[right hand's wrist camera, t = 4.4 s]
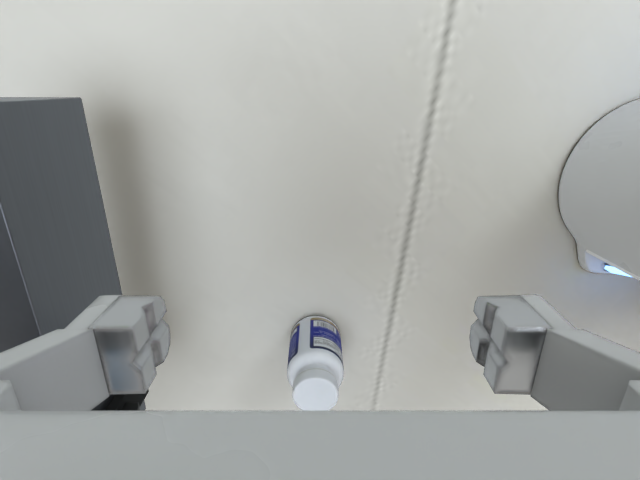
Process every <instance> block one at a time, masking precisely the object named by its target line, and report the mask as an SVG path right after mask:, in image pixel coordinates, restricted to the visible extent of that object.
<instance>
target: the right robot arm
mask: <svg viewBox="0 0 640 480" xmlns="http://www.w3.org/2000/svg"><path fill="white" fill-rule="evenodd" d="M559 208H560V212H561V216H562V219H563V221H564V223H565V225H566V227H567V228H568V230H569V231H570V233H571V234H572V236H573V237H574V239H575V241H576V243H577V253H578V260H579V263H580V265H581V267H582V268H584V269H585V270H587V271H589V272H592V273H600V274H616V275H624V276H629V277H633V278H635V279H637V280H639V281H640V99H637V100H634V101H631V102H629V103H627V104H624V105H622V106H620V107H618V108H617V109H615V110H613V111H612V112H610V113H608V114H607V115H606V116H604V117H603V118H602V119H600V120H599V121H598V122H597V123H596V124H594V125H593V126H592V127H591V128H590V129H589V130H588V131H587V132H586V133H585V135H584V136H583V137H582V138H581V139H580V141H579V142H578V143H577V145H576V146H575V148H574V149H573V151H572V152H571V154H570V156H569V158H568V160H567V162H566V164H565V167H564V170H563V173H562V176H561V180H560V185H559ZM605 262H606V263H605ZM165 313H166V306H165V301H164V299H163V298H162V297H161V296H138V295H102V296H99V297H98V298H96V299H95V300H94V301H93V302H92V303H91V304H90V305H89V306H88V307H87V308H86V309H85V310H84V311H83V312H82V313H81V314H79V315H78V316H77V317H76V318H75V319H74V320H73V321H72V322H71V323H70V324H69V325H68V326H67V327H66V328H65V329H57V330H54V331H52V332H49V333H47V334H45V335H42V336H40V337H37V338H35V339H32V340H30V341H28V342H25V343H23V344H20V345H18V346H16V347H13V348H11V349H8V350H6V351H3V352H1V353H0V480H640V353H639V352H636V351H634V350H632V349H629V348H627V347H624V346H622V345H620V344H617V343H615V342H612V341H610V340H607V339H605V338H603V337H600V336H598V335H595V334H593V333H591V332H588V331H586V330H583V329H575V328H574V327H573V326H572V325H571V324H570V323H569V322H568V321H567V320H566V319H565V318H564V317H563V316H562V315H561V314H560V313H558V312H557V311H556V310H555V309H554V308H553V307H552V306H551V305H550V304H549V303H548V302H547V301H546V300H545V299H544V298H543V297H542V296H539V295H508V296H480V297H477V299H476V302H475V306H474V313H475V314H476V316H477V317H478V319H477V320H476V321H475V322H474V323H473V324H472V325H471V330H470V347H471V351H472V354H473V356H474V358H475V360H476V362H477V363H479V364H480V365H482V366H484V367H485V368H484V376H485V378H486V380H487V381H488V383H489V385H490V386H491V388H492V390H493V392H494V393H495V394H528V395H531V397H532V398H534V399H535V400H536V401H538V402H539V403H540V404H542V405H543V406H544V407H546V408H547V409H548V410H550V411H91V410H92V409H93V408H95V407H96V406H97V405H99V404H100V403H101V402H103V401H104V400H105V399H106V398H108V397H109V395H112V394H146V392H147V390H148V388H149V387H150V385H151V383H152V381H153V380H154V378H155V376H156V368H155V367H156V366H158V365H160V364H161V363H163V362H164V360H165V358H166V356H167V354H168V350H169V346H170V329H169V325H168V324H167V323H166V322H165V321H164V320H163V319H162V317H163V316H164V314H165Z"/></svg>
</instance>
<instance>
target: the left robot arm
mask: <svg viewBox="0 0 640 480" xmlns="http://www.w3.org/2000/svg"><path fill="white" fill-rule="evenodd" d="M148 392H149V391H148V390H147V392H146V394H115V395H114V397H113V398H112V400H111V401H110V403H109V404H108V406H107V407H106V409H105V410H104V411H140V406H141V404H142V402H143V401H144V399H145V397H146V395H147V393H148Z"/></svg>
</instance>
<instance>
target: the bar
mask: <svg viewBox="0 0 640 480" xmlns="http://www.w3.org/2000/svg"><path fill="white" fill-rule="evenodd" d="M102 295H122V291H121V287H120V282H119V277H118V272H117V267H116V263H115V258H114V253H113V248H112V243H111V239H110V234H109V229H108V224H107V219H106V215H105V210H104V205H103V200H102V195H101V190H100V186H99V181H98V176H97V171H96V166H95V162H94V157H93V152H92V147H91V142H90V138H89V133H88V128H87V123H86V118H85V114H84V109H83V104H82V99H81V98H80V97H0V353H1V352H3V351H6V350H8V349H11V348H13V347H16V346H18V345H20V344H23V343H25V342H28V341H30V340H32V339H35V338H37V337H40V336H42V335H45V334H47V333H49V332H52V331H54V330H57V329H65V328H66V327H67V326H68V325H69V324H70V323H71V322H72V321H73V320H74V319H75V318H76V317H77V316H78V315H79V314H81V313H82V312H83V311H84V310H85V309H86V308H87V307H88V306H89V305H90V304H91V303H92V302H93V301H94V300H95V299H96V298H98V297H99V296H102ZM114 395H115V394H112V395H109V397H108V398H106V399H105V400H104V401H103V402H101V403H100V404H99V405H97V406H96V407H95V408H93V409H92V410H91V411H104V410H105V409H106V407H107V406H108V404H109V403H110V401H111V400H112V398H113V397H114ZM145 409H146V407H145V402H144V401H143V402H142V404H141V406H140V411H145Z"/></svg>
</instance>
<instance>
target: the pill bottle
mask: <svg viewBox="0 0 640 480" xmlns="http://www.w3.org/2000/svg"><path fill="white" fill-rule="evenodd" d="M343 374H344V370H343V358H342V348H341V338H340V332H339V330H338V328H337V326H336V325H335V324H334V323H333V322H332V321H331V320H329V319H327V318H325V317H321V316H310V317H306V318H304V319H302V320H300V321H299V322H298V323H297V324H296V325H295V326H294V328H293V329H292V332H291V338H290V347H289V357H288V367H287V376H288V381H289V383H290V385H291V386H292V388H293V400H294V403H295V404H296V406H297V407H298V408H300V409H301V410H303V411H328V410H330V409H331V408H333V407H334V406H335V404H336V403H337V400H338V387H339V386H340V384H341V382H342V380H343Z"/></svg>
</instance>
